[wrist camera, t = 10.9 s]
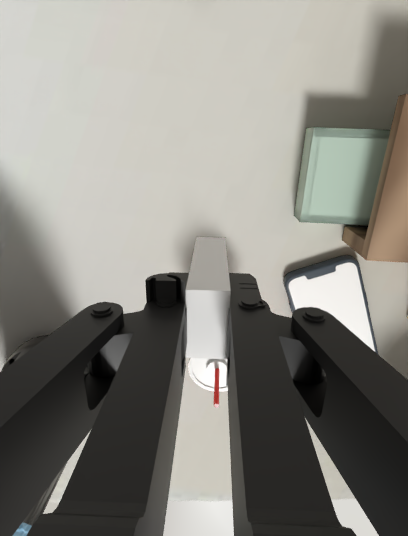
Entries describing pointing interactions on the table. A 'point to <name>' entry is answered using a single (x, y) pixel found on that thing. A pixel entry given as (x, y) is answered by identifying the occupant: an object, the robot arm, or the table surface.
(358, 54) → the table surface
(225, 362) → the beverage cup
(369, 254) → the walnut shelf
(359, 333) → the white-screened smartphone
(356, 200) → the bevelled sage-green slab
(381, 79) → the table surface
